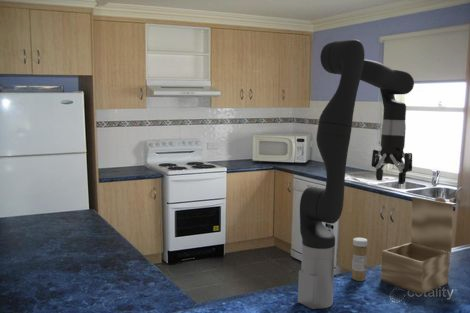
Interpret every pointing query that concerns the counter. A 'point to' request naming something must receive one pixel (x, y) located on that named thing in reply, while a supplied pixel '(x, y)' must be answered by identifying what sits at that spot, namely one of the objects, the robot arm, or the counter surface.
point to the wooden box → (415, 267)
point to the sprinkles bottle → (359, 259)
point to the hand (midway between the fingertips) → (390, 182)
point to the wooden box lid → (432, 223)
